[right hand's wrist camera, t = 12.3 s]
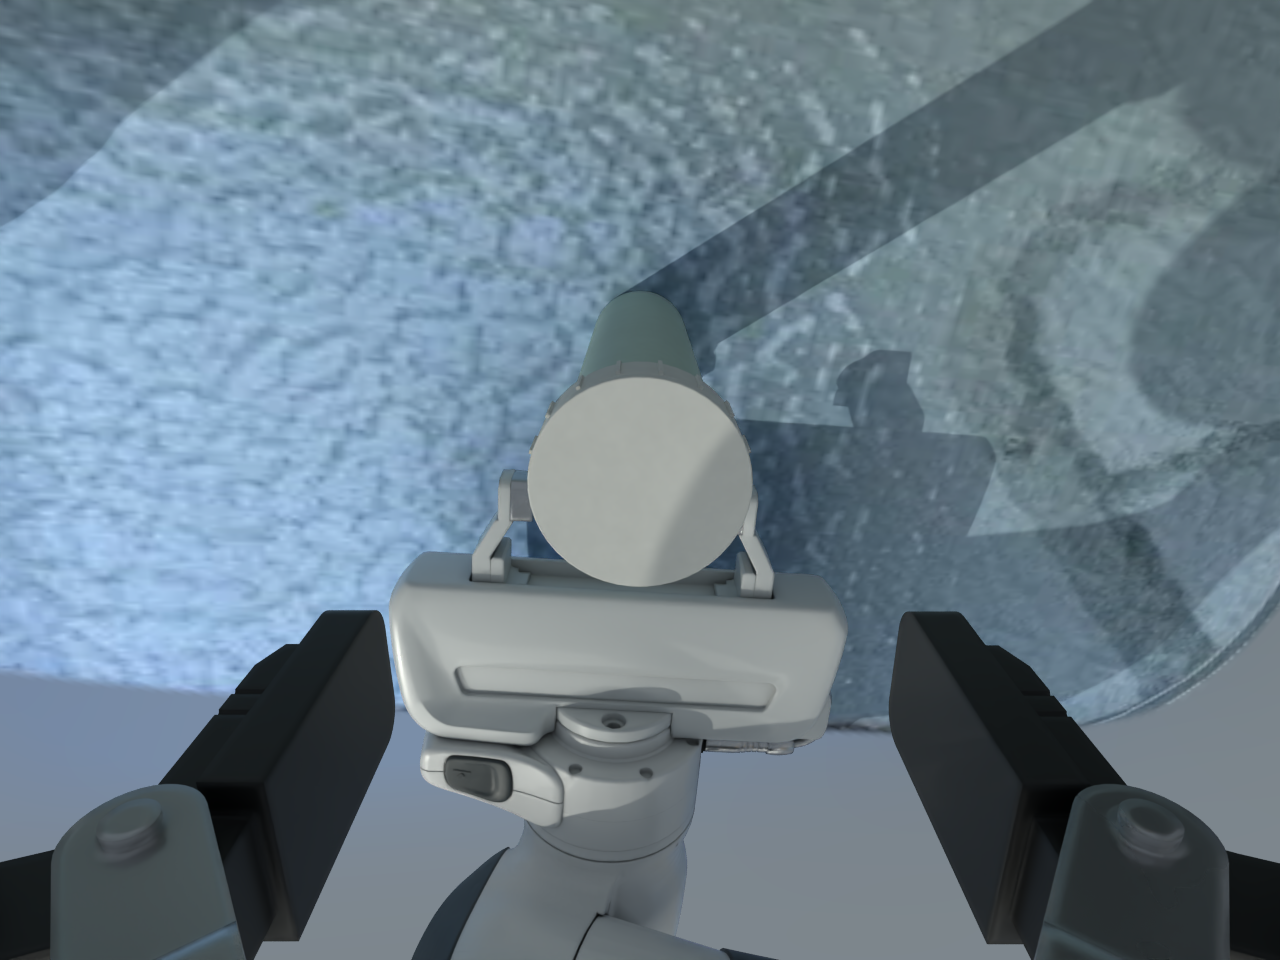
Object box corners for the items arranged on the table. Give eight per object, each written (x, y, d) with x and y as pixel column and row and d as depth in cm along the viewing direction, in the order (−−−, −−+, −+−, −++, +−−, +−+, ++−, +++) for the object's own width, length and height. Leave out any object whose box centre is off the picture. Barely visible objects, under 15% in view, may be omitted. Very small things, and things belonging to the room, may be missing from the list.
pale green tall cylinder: (643, 400, 38) (646, 593, 20) (575, 340, 37) (513, 486, 19) (704, 334, 37) (767, 474, 19) (636, 270, 36) (633, 354, 18)
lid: (646, 596, 21) (647, 629, 20) (489, 471, 20) (476, 495, 18) (790, 457, 20) (803, 480, 18) (630, 311, 18) (630, 323, 17)
